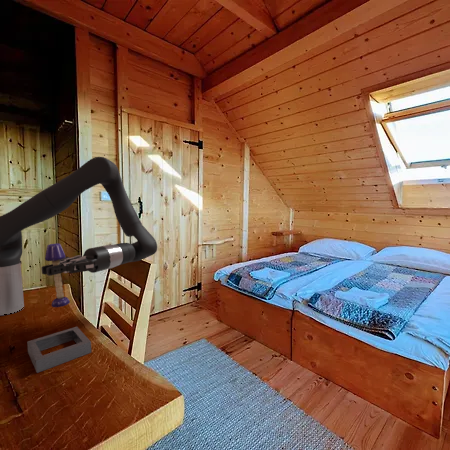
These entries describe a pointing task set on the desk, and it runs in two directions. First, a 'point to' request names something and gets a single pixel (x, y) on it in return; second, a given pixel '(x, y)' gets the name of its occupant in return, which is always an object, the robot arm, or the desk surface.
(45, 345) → the square frame
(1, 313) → the robot arm
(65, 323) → the desk surface
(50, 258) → the toy lamp
